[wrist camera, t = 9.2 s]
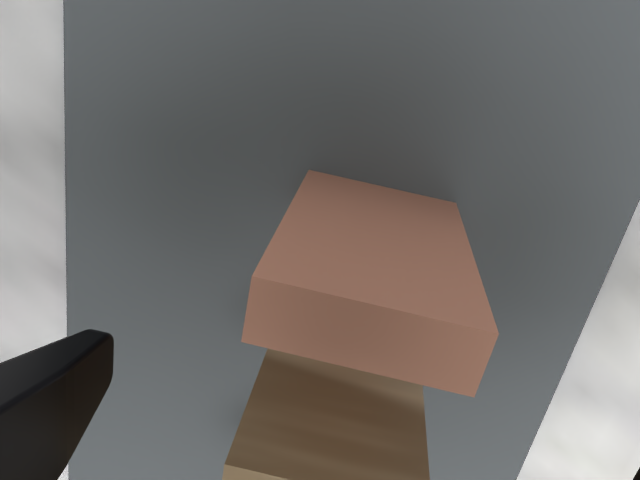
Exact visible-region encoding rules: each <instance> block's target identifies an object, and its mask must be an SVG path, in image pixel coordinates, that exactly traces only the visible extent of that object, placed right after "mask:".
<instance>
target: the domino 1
mask: <svg viewBox="0 0 640 480" xmlns="http://www.w3.org/2000/svg"><path fill="white" fill-rule="evenodd" d="M498 335H499V332H498V329H497V326H496V323H495V320H494V317H493V314H492V311H491V308H490V305H489V302H488V299H487V296H486V292H485V289H484V286H483V283H482V280H481V277H480V274H479V271H478V268H477V265H476V262H475V259H474V256H473V253H472V250H471V247H470V244H469V241H468V237H467V234H466V231H465V228H464V225H463V222H462V219H461V216H460V213H459V210H458V207H457V204H456V203H454V202H450V201H445V200H441V199H437V198H432V197H428V196H423V195H419V194H414V193H410V192H405V191H401V190H397V189H392V188H388V187H383V186H379V185H374V184H370V183H366V182H361V181H357V180H352V179H348V178H343V177H339V176H334V175H330V174H326V173H321V172H317V171H312V170H308V172H307V174H306V176H305V178H304V179H303V181H302V183H301V185H300V187H299V189H298V191H297V193H296V194H295V196H294V198H293V200H292V202H291V204H290V206H289V207H288V209H287V211H286V213H285V215H284V217H283V219H282V221H281V222H280V224H279V226H278V228H277V230H276V232H275V234H274V235H273V237H272V239H271V241H270V243H269V245H268V247H267V248H266V250H265V252H264V254H263V256H262V258H261V260H260V262H259V263H258V265H257V267H256V269H255V271H254V273H253V275H252V277H251V284H250V290H249V296H248V302H247V308H246V314H245V321H244V327H243V333H242V339H241V342H243V343H247V344H252V345H256V346H260V347H264V348H268V349H273V350H277V351H281V352H285V353H289V354H294V355H298V356H302V357H306V358H310V359H314V360H319V361H323V362H327V363H331V364H335V365H340V366H344V367H348V368H352V369H356V370H361V371H365V372H369V373H373V374H377V375H382V376H386V377H390V378H394V379H398V380H403V381H407V382H411V383H415V384H419V385H424V386H428V387H432V388H436V389H440V390H445V391H449V392H453V393H457V394H461V395H466V396H470V397H475V394H476V392H477V389H478V387H479V384H480V381H481V379H482V376H483V374H484V371H485V369H486V366H487V363H488V361H489V358H490V356H491V353H492V351H493V348H494V345H495V343H496V340H497V338H498Z"/></svg>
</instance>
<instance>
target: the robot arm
mask: <svg viewBox="0 0 640 480" xmlns="http://www.w3.org/2000/svg"><path fill="white" fill-rule="evenodd" d="M113 361H114V338H113V336H112V335H111V334H110V333H107V332H103V331H99V330H94V329H87V330H84V331H81V332H79V333H76V334H73V335H71V336H68V337H66V338H63V339H61V340H58V341H56V342H53V343H50V344H48V345H45V346H43V347H40V348H38V349H35V350H32V351H30V352H27V353H25V354H22V355H20V356H17V357H15V358H12V359H9V360H7V361H4V362H2V363H0V480H57V479H58V478H59V476H60V475H61V473H62V472H63V470H64V469H65V467H66V466H67V464H68V462H69V460H70V459H71V457H72V455H73V453H74V452H75V450H76V448H77V446H78V444H79V442H80V440H81V438H82V437H83V435H84V433H85V431H86V429H87V427H88V425H89V423H90V422H91V420H92V418H93V416H94V414H95V412H96V410H97V409H98V407H99V405H100V403H101V401H102V399H103V397H104V395H105V394H106V392H107V390H108V388H109V386H110V383H111V380H112V377H113ZM633 480H640V468H639V470H638V471H637V473H636V475H635V477H634V478H633Z"/></svg>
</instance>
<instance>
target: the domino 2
mask: <svg viewBox="0 0 640 480" xmlns="http://www.w3.org/2000/svg"><path fill="white" fill-rule="evenodd" d="M222 480H430V475H429V462H428V449H427V436H426V423H425V410H424V397H423V385H419V384H415V383H411V382H407V381H403V380H398V379H394V378H390V377H386V376H382V375H377V374H373V373H369V372H365V371H361V370H356V369H352V368H348V367H344V366H340V365H335V364H331V363H327V362H323V361H319V360H314V359H310V358H306V357H302V356H298V355H294V354H289V353H285V352H281V351H277V350H273V349H267V351H266V354H265V357H264V359H263V362H262V365H261V367H260V370H259V373H258V375H257V378H256V381H255V383H254V386H253V389H252V391H251V394H250V397H249V399H248V402H247V405H246V407H245V410H244V413H243V416H242V418H241V421H240V424H239V426H238V429H237V432H236V434H235V437H234V440H233V442H232V445H231V448H230V450H229V453H228V456H227V458H226V461H225V464H224V470H223V477H222Z"/></svg>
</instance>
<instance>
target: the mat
mask: <svg viewBox="0 0 640 480" xmlns="http://www.w3.org/2000/svg"><path fill="white" fill-rule="evenodd" d="M63 5H64V95H65V186H66V277H67V337H68V336H71V335H73V334H76V333H79V332H81V331H84V330H87V329H94V330H99V331H103V332H107V333H110V334H111V335H112V336H113V338H114V361H113V377H112V380H111V383H110V386H109V388H108V390H107V392H106V394H105V395H104V397H103V399H102V401H101V403H100V405H99V407H98V409H97V410H96V412H95V414H94V416H93V418H92V420H91V422H90V423H89V425H88V427H87V429H86V431H85V433H84V435H83V437H82V438H81V440H80V442H79V444H78V446H77V448H76V450H75V452H74V453H73V455H72V457H71V459H70V460H69V480H222V477H223V470H224V464H225V461H226V458H227V456H228V453H229V450H230V448H231V445H232V442H233V440H234V437H235V434H236V432H237V429H238V426H239V424H240V421H241V418H242V416H243V413H244V410H245V407H246V405H247V402H248V399H249V397H250V394H251V391H252V389H253V386H254V383H255V381H256V378H257V375H258V373H259V370H260V367H261V365H262V362H263V359H264V357H265V354H266V351H267V349H268V348H264V347H260V346H256V345H252V344H247V343H243V342H241V339H242V333H243V327H244V321H245V314H246V308H247V302H248V296H249V290H250V284H251V277H252V275H253V273H254V271H255V269H256V267H257V265H258V263H259V262H260V260H261V258H262V256H263V254H264V252H265V250H266V248H267V247H268V245H269V243H270V241H271V239H272V237H273V235H274V234H275V232H276V230H277V228H278V226H279V224H280V222H281V221H282V219H283V217H284V215H285V213H286V211H287V209H288V207H289V206H290V204H291V202H292V200H293V198H294V196H295V194H296V193H297V191H298V189H299V187H300V185H301V183H302V181H303V179H304V178H305V176H306V174H307V172H308V170H312V171H317V172H321V173H326V174H330V175H334V176H339V177H343V178H348V179H352V180H357V181H361V182H366V183H370V184H374V185H379V186H383V187H388V188H392V189H397V190H401V191H405V192H410V193H414V194H419V195H423V196H428V197H432V198H437V199H441V200H445V201H450V202H454V203H456V204H457V207H458V210H459V213H460V216H461V219H462V222H463V225H464V228H465V231H466V234H467V237H468V241H469V244H470V247H471V250H472V253H473V256H474V259H475V262H476V265H477V268H478V271H479V274H480V277H481V280H482V283H483V286H484V289H485V292H486V296H487V299H488V302H489V305H490V308H491V311H492V314H493V317H494V320H495V323H496V326H497V329H498V332H499V335H498V338H497V340H496V343H495V345H494V348H493V351H492V353H491V356H490V358H489V361H488V363H487V366H486V369H485V371H484V374H483V376H482V379H481V381H480V384H479V387H478V389H477V392H476V394H475V397H470V396H466V395H461V394H457V393H453V392H449V391H445V390H440V389H436V388H432V387H428V386H424V385H423V397H424V410H425V423H426V436H427V449H428V462H429V475H430V480H516V479H517V477H518V474H519V472H520V470H521V468H522V465H523V463H524V461H525V459H526V456H527V454H528V452H529V449H530V447H531V445H532V443H533V440H534V438H535V436H536V434H537V431H538V429H539V427H540V425H541V422H542V420H543V418H544V415H545V413H546V411H547V409H548V406H549V404H550V402H551V400H552V397H553V395H554V393H555V391H556V388H557V386H558V384H559V381H560V379H561V377H562V375H563V372H564V370H565V368H566V366H567V363H568V361H569V359H570V356H571V354H572V352H573V350H574V347H575V345H576V343H577V341H578V338H579V336H580V334H581V332H582V329H583V327H584V325H585V322H586V320H587V318H588V316H589V313H590V311H591V309H592V307H593V304H594V302H595V300H596V298H597V295H598V293H599V291H600V288H601V286H602V284H603V282H604V279H605V277H606V275H607V273H608V270H609V268H610V266H611V264H612V261H613V259H614V257H615V254H616V252H617V250H618V248H619V245H620V243H621V241H622V239H623V236H624V234H625V232H626V230H627V227H628V225H629V223H630V220H631V218H632V216H633V214H634V211H635V209H636V207H637V205H638V202H639V200H640V0H63Z"/></svg>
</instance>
